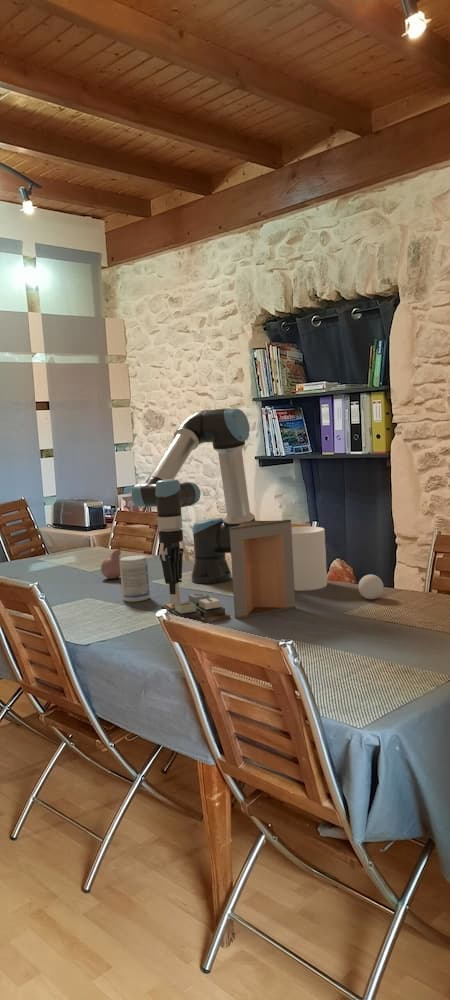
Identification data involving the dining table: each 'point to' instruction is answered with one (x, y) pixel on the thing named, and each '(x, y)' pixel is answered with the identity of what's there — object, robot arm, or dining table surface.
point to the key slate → (197, 597)
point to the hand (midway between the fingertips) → (175, 603)
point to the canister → (309, 558)
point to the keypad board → (202, 613)
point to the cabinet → (262, 567)
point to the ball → (370, 586)
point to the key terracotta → (170, 606)
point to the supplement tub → (134, 578)
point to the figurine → (111, 565)
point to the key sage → (185, 607)
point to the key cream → (209, 603)
